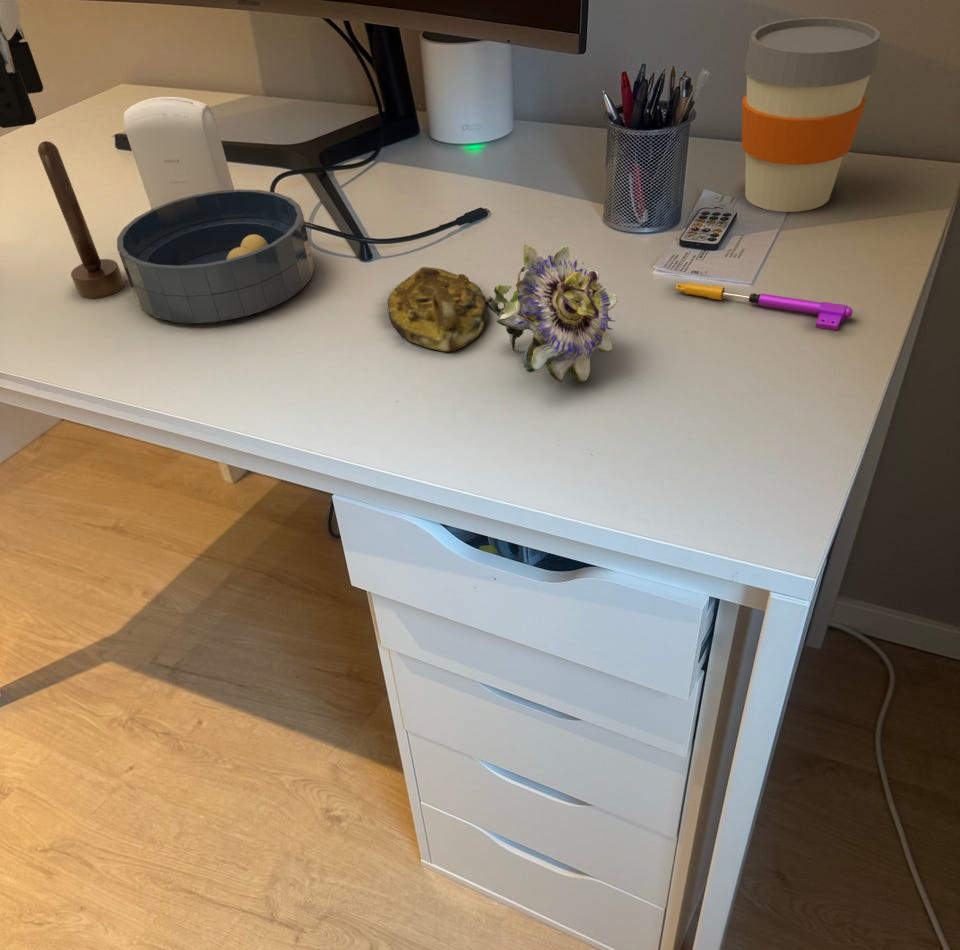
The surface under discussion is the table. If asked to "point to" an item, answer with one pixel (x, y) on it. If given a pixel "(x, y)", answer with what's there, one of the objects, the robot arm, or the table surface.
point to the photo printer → (176, 148)
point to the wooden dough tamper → (79, 232)
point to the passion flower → (556, 314)
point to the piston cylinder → (779, 304)
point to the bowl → (216, 255)
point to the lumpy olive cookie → (438, 309)
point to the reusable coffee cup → (803, 107)
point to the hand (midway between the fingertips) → (23, 108)
